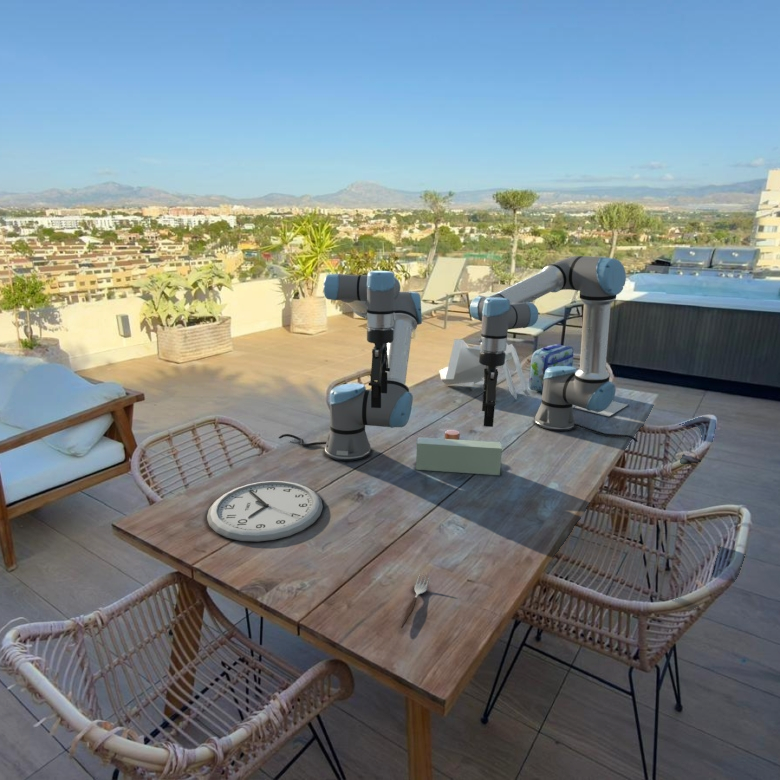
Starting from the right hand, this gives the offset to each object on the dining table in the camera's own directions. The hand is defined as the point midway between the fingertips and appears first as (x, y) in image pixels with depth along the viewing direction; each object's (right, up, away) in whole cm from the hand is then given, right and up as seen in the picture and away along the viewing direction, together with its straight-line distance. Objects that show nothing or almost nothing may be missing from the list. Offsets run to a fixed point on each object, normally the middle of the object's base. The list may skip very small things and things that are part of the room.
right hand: (487, 418), depth 161 cm
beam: (-8, -16, +5) cm, 19 cm away
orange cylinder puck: (-9, -11, +21) cm, 25 cm away
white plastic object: (+12, +8, +83) cm, 84 cm away
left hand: (-33, +6, -8) cm, 34 cm away
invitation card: (+62, +1, +66) cm, 90 cm away
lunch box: (+46, +9, +90) cm, 101 cm away
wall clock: (-63, -23, -21) cm, 70 cm away
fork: (-25, -35, -55) cm, 69 cm away
